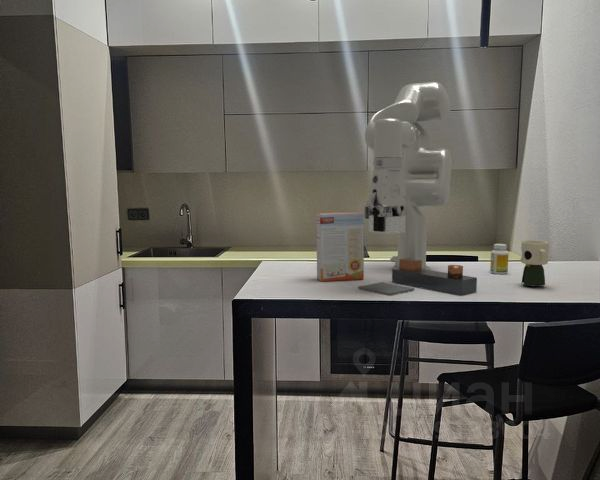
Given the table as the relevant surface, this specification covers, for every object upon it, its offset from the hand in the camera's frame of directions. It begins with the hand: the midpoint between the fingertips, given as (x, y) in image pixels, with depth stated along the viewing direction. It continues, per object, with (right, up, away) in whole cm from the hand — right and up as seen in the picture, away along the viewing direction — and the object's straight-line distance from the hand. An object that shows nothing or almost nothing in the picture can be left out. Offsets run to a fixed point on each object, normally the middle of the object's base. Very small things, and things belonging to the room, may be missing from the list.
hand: (386, 230), depth 138 cm
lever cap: (0, -1, 0) cm, 1 cm away
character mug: (+43, -16, +6) cm, 47 cm away
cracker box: (-12, -15, +18) cm, 26 cm away
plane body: (+14, -16, +5) cm, 22 cm away
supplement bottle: (+42, -14, +28) cm, 52 cm away
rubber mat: (0, -17, +2) cm, 17 cm away
